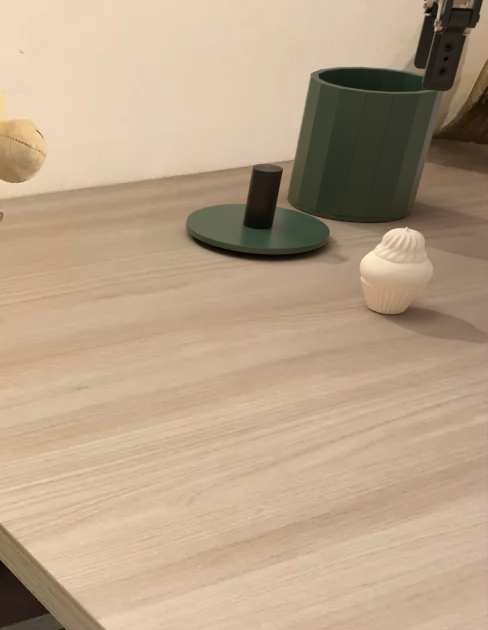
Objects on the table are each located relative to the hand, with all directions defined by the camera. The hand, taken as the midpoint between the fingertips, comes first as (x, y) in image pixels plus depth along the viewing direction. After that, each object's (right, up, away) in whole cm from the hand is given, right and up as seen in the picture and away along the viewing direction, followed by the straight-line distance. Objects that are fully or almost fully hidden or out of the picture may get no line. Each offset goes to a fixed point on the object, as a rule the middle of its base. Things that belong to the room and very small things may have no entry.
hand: (430, 78), depth 82 cm
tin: (+5, +5, +34) cm, 35 cm away
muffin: (0, -15, +10) cm, 18 cm away
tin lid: (-8, -2, +24) cm, 26 cm away
